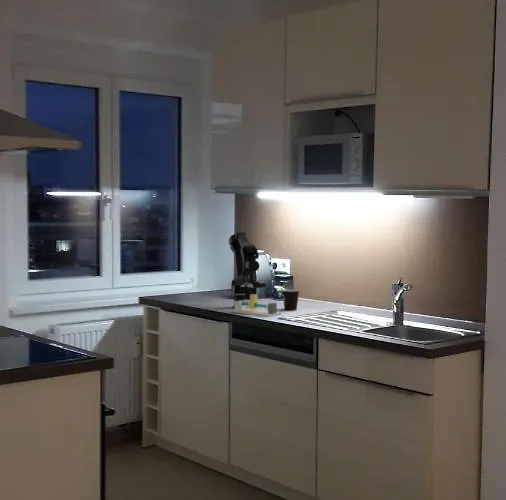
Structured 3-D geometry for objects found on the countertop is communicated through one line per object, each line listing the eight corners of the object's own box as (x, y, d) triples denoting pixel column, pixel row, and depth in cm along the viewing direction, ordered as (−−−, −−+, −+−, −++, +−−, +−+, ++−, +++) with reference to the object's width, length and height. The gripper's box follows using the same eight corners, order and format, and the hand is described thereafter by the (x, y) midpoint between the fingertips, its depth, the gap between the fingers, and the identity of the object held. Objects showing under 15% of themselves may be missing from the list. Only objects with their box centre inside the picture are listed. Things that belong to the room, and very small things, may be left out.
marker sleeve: (248, 308, 408) (248, 294, 408) (253, 307, 411) (253, 293, 411) (253, 309, 406) (253, 295, 406) (258, 308, 409) (258, 294, 409)
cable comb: (232, 311, 411) (232, 301, 410) (246, 309, 419) (247, 299, 419) (267, 316, 396) (267, 305, 395) (281, 314, 404) (281, 303, 404)
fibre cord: (238, 309, 413) (238, 299, 413) (242, 308, 416) (243, 298, 415) (271, 313, 399) (272, 303, 398) (276, 313, 402) (276, 303, 401)
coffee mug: (297, 311, 416) (297, 291, 415) (281, 310, 418) (281, 291, 417) (300, 307, 427) (300, 289, 426) (284, 307, 429) (284, 288, 428)
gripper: (224, 269, 410) (224, 299, 411) (252, 272, 397) (251, 303, 399) (238, 268, 418) (238, 297, 419) (266, 270, 406) (266, 301, 407)
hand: (248, 300), depth 411 cm, fingers closed
